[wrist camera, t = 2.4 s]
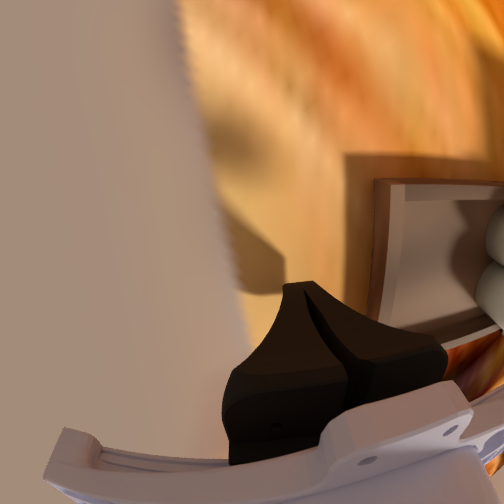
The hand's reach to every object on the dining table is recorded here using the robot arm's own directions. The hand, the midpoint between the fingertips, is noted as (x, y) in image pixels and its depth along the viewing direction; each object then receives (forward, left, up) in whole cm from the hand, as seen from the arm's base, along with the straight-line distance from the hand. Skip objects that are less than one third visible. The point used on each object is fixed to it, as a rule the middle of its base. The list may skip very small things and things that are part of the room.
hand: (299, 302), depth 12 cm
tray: (0, -11, -2) cm, 11 cm away
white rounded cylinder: (-2, -14, -1) cm, 14 cm away
